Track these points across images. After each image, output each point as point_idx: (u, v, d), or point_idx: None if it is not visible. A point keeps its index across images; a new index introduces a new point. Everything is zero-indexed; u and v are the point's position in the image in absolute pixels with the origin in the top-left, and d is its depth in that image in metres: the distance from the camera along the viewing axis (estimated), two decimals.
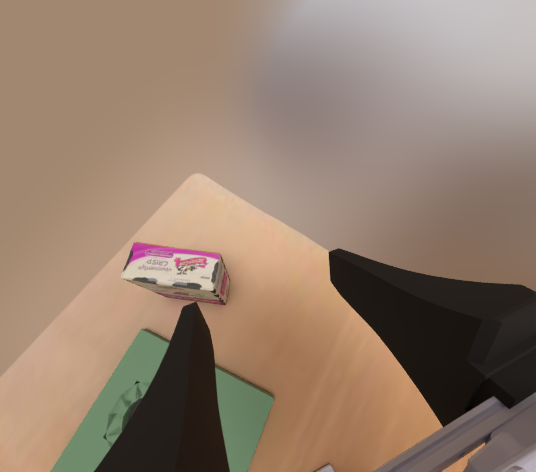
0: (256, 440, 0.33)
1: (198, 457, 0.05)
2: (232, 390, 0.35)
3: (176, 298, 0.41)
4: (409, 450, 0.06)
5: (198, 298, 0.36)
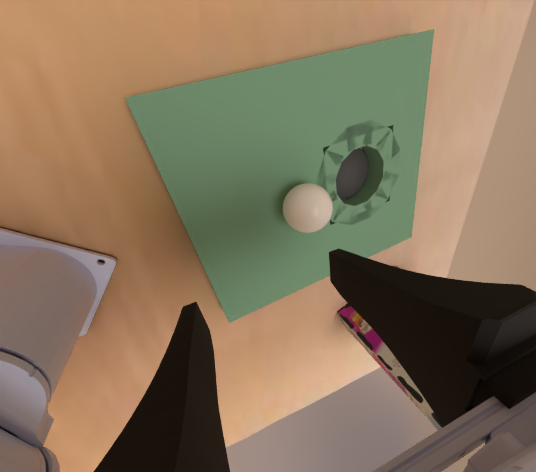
0: (213, 279, 0.20)
1: (198, 457, 0.05)
2: (282, 285, 0.24)
3: None
4: (409, 450, 0.06)
5: None
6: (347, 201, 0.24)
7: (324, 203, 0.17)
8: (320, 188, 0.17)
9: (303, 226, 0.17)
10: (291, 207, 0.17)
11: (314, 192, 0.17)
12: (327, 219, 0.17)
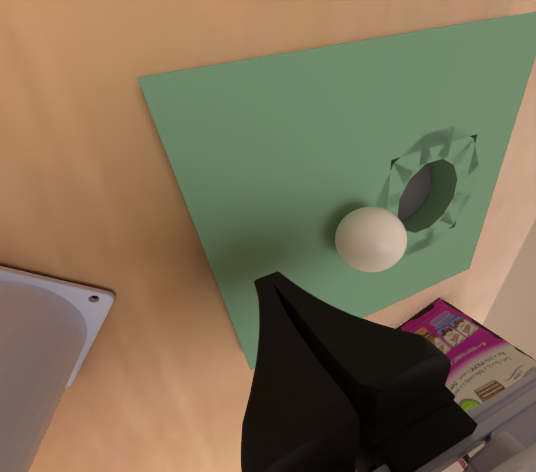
0: (236, 321, 0.16)
1: None
2: None
3: (432, 311, 0.27)
4: None
5: None
6: None
7: (401, 237, 0.12)
8: (393, 215, 0.13)
9: (367, 266, 0.13)
10: (353, 240, 0.13)
11: (387, 222, 0.12)
12: (400, 258, 0.13)
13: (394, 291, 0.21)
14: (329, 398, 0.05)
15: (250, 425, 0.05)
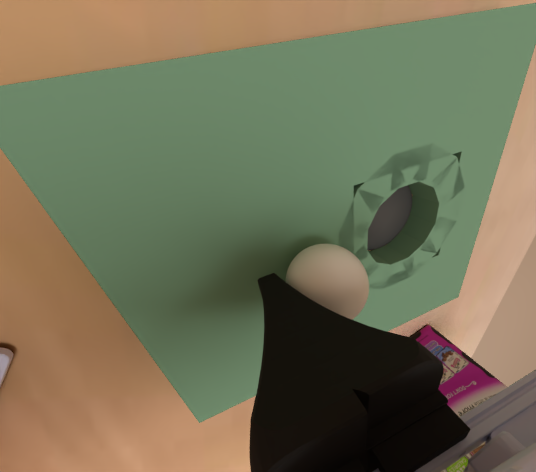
0: (172, 375, 0.13)
1: None
2: None
3: (419, 340, 0.25)
4: None
5: None
6: (378, 253, 0.17)
7: (359, 288, 0.10)
8: (351, 258, 0.10)
9: None
10: (301, 291, 0.10)
11: (342, 268, 0.10)
12: (361, 310, 0.10)
13: None
14: (337, 394, 0.05)
15: (258, 421, 0.05)
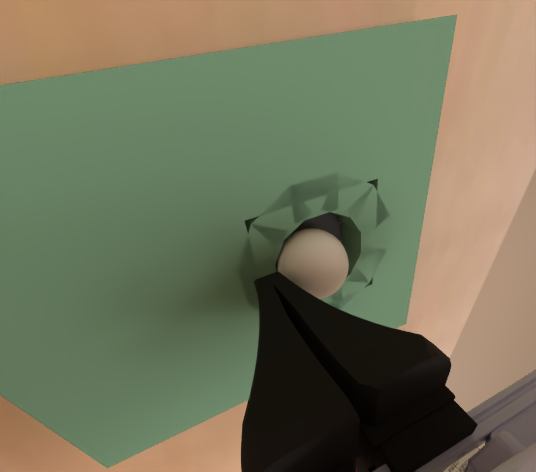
0: (56, 426, 0.12)
1: None
2: (196, 410, 0.15)
3: None
4: None
5: None
6: None
7: None
8: (288, 237, 0.13)
9: None
10: None
11: (300, 230, 0.13)
12: None
13: None
14: (329, 398, 0.05)
15: (250, 425, 0.05)
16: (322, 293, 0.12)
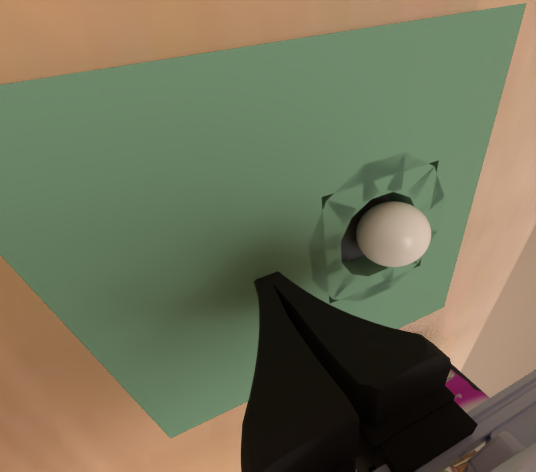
0: (136, 392, 0.13)
1: None
2: None
3: None
4: None
5: None
6: (357, 263, 0.16)
7: (359, 222, 0.14)
8: (372, 215, 0.13)
9: None
10: None
11: (371, 208, 0.14)
12: None
13: None
14: (329, 398, 0.05)
15: (250, 425, 0.05)
16: None
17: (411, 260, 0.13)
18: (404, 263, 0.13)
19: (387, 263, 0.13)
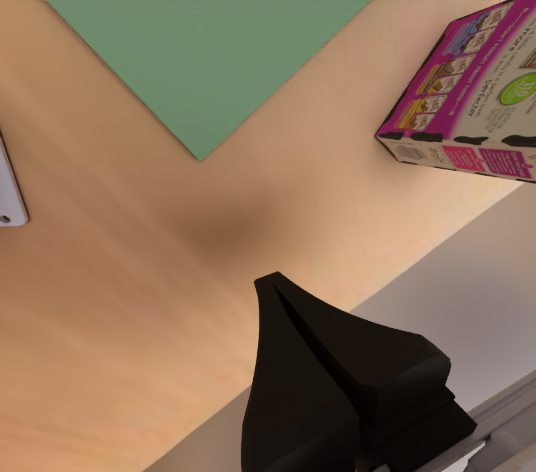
0: (129, 79, 0.13)
1: None
2: (252, 74, 0.15)
3: (444, 41, 0.19)
4: None
5: (469, 89, 0.16)
6: None
7: None
8: None
9: None
10: None
11: None
12: None
13: None
14: (329, 398, 0.05)
15: (250, 425, 0.05)
16: None
17: None
18: None
19: None
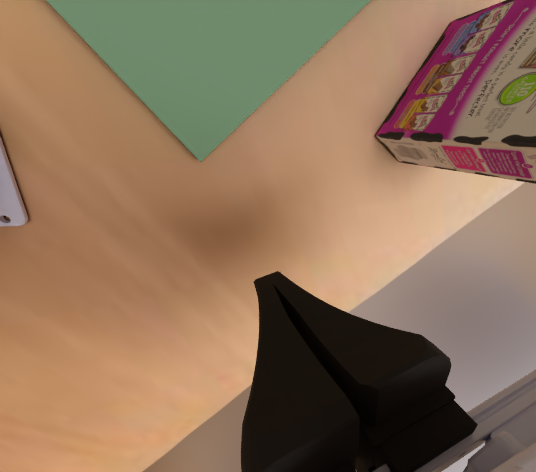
0: (129, 79, 0.13)
1: None
2: (252, 74, 0.15)
3: (444, 41, 0.19)
4: None
5: (469, 89, 0.16)
6: None
7: None
8: None
9: None
10: None
11: None
12: None
13: None
14: (329, 398, 0.05)
15: (250, 425, 0.05)
16: None
17: None
18: None
19: None
